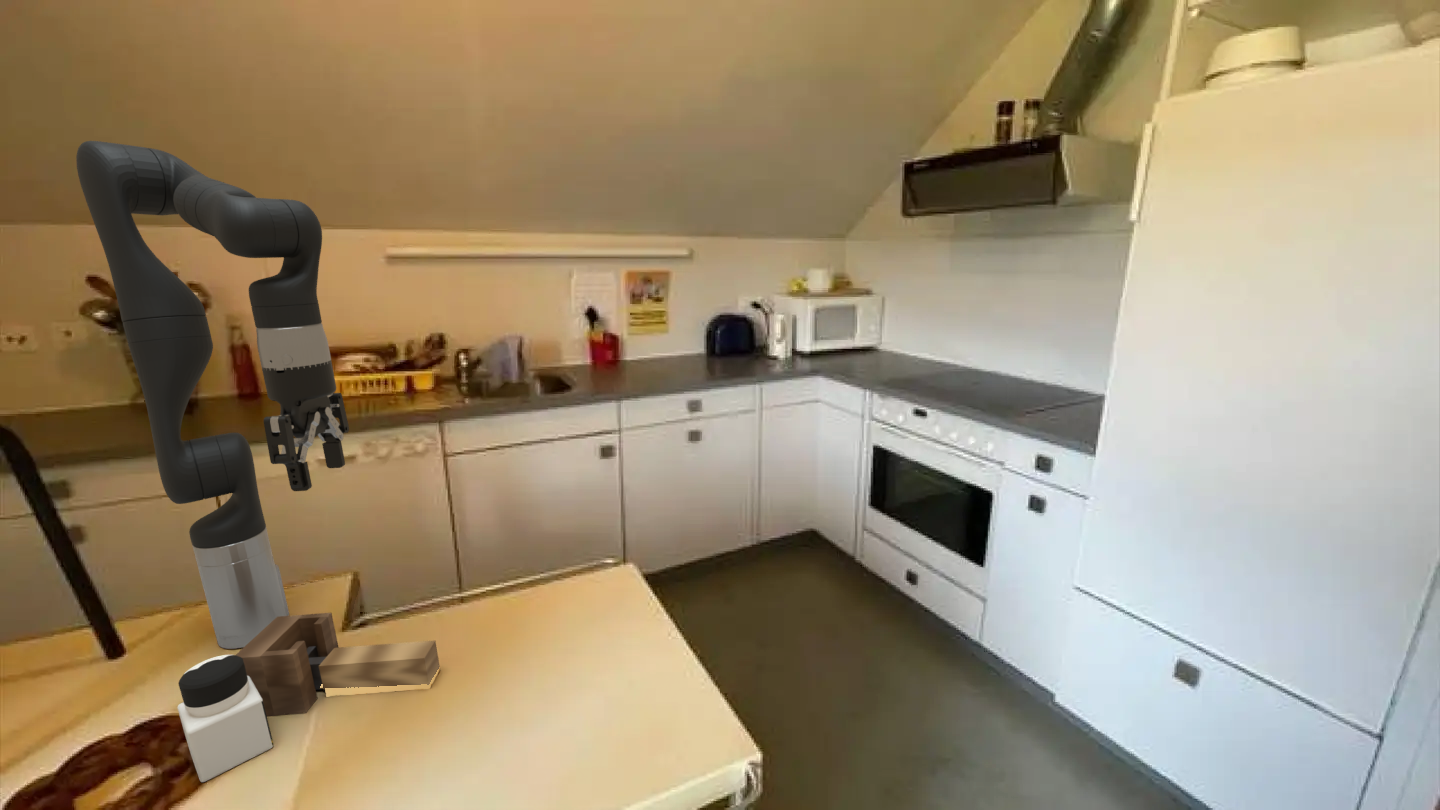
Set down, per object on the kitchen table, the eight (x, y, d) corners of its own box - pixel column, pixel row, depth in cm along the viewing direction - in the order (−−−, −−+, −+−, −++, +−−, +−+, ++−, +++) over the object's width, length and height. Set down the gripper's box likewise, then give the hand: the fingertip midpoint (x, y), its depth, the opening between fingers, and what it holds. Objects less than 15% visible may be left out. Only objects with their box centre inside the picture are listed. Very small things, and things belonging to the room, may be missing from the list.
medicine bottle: (274, 747, 75) (254, 663, 73) (201, 785, 70) (175, 695, 68) (260, 720, 80) (240, 640, 77) (190, 753, 75) (166, 669, 72)
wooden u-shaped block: (342, 666, 90) (331, 612, 88) (305, 712, 81) (292, 653, 79) (289, 670, 90) (277, 616, 88) (246, 717, 81) (231, 658, 79)
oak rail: (442, 667, 90) (437, 637, 88) (427, 693, 84) (422, 661, 83) (315, 676, 88) (308, 646, 87) (292, 703, 83) (285, 671, 82)
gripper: (298, 352, 85) (319, 462, 89) (227, 372, 72) (257, 500, 76) (354, 350, 86) (373, 459, 90) (295, 369, 72) (320, 497, 76)
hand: (320, 478), depth 83 cm, fingers open, 8 cm apart
